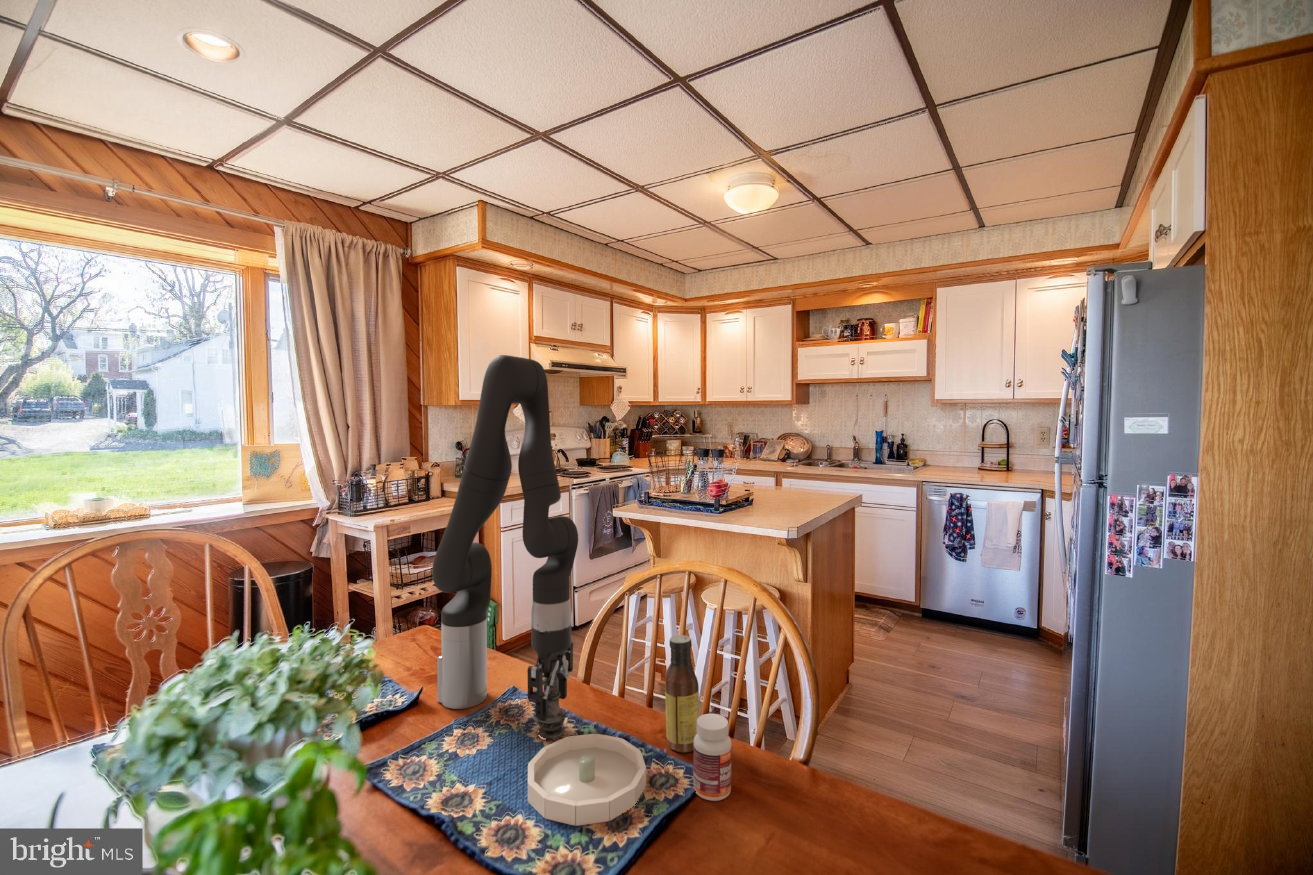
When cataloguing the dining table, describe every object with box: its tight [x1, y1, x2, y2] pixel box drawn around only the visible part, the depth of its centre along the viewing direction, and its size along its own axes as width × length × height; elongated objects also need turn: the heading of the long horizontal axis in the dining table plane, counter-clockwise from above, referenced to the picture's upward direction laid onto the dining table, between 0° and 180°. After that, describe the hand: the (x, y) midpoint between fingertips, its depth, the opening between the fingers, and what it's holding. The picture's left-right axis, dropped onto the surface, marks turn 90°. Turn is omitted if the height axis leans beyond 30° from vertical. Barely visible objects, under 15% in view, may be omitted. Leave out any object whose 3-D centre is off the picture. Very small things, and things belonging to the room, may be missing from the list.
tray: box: [527, 733, 647, 827], centre depth 94 cm, size 19×19×4 cm
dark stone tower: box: [535, 676, 568, 741], centre depth 109 cm, size 6×6×12 cm
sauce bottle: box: [664, 634, 700, 753], centre depth 105 cm, size 7×6×20 cm
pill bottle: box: [692, 713, 732, 802], centre depth 93 cm, size 6×6×11 cm
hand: (551, 707), depth 109 cm, fingers open, 7 cm apart
